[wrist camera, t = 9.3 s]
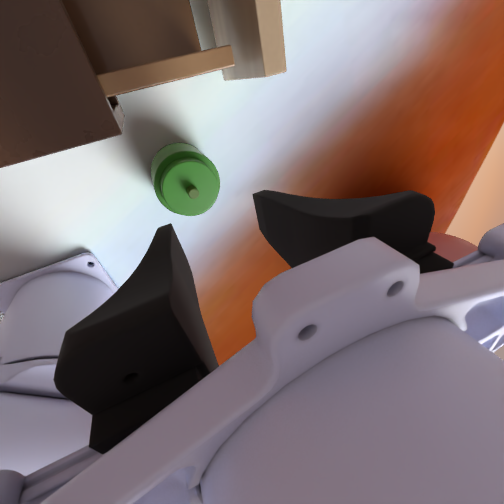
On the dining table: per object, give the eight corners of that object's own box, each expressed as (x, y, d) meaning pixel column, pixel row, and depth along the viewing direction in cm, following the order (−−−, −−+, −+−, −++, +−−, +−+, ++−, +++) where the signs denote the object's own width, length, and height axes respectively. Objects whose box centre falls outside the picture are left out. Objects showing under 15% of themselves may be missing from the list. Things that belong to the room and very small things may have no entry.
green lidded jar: (215, 190, 22) (234, 212, 18) (164, 208, 21) (173, 235, 17) (199, 135, 19) (217, 147, 15) (139, 152, 18) (142, 170, 14)
